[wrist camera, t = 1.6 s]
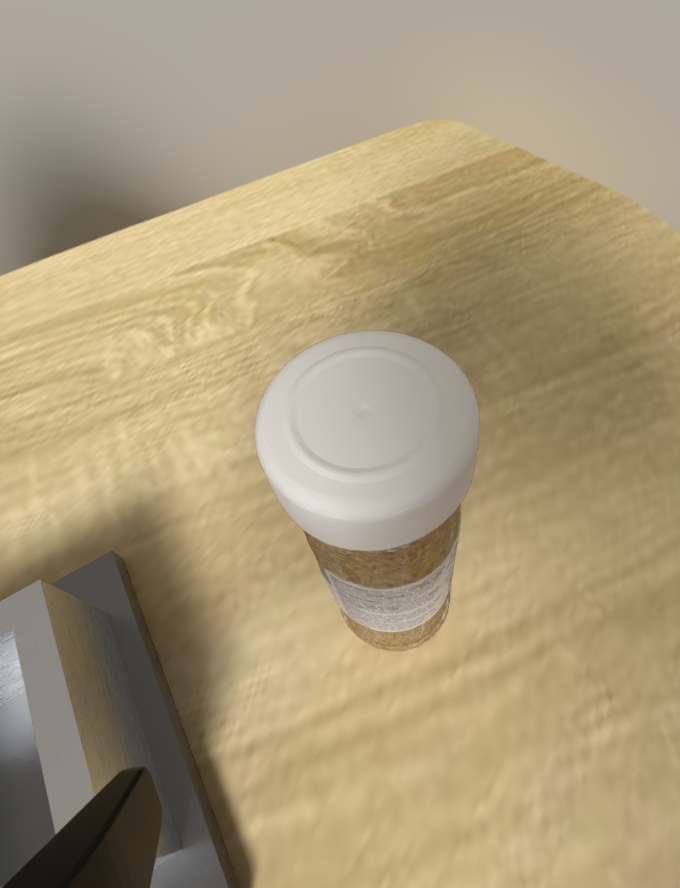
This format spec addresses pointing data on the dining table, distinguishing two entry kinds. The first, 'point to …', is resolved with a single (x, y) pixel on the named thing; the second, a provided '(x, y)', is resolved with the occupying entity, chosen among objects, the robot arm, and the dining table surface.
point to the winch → (94, 724)
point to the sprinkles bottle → (375, 474)
